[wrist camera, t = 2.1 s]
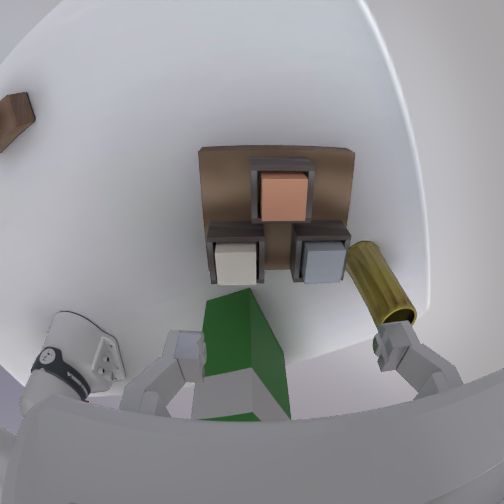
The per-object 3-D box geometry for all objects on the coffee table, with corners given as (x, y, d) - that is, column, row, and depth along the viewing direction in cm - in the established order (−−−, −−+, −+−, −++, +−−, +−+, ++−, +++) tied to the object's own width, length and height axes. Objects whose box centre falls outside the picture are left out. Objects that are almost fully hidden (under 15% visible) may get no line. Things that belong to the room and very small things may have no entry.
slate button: (333, 267, 35) (340, 282, 33) (300, 268, 35) (304, 283, 33) (338, 236, 33) (346, 250, 30) (302, 237, 33) (307, 251, 30)
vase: (349, 280, 43) (379, 347, 31) (338, 251, 41) (370, 319, 28) (382, 264, 42) (421, 326, 30) (374, 234, 39) (418, 295, 27)
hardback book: (283, 352, 52) (296, 469, 32) (247, 362, 54) (249, 475, 33) (249, 287, 44) (253, 436, 23) (206, 301, 45) (188, 442, 24)
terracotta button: (299, 208, 31) (305, 220, 28) (260, 208, 31) (262, 221, 28) (302, 170, 29) (308, 179, 26) (260, 170, 29) (262, 179, 26)
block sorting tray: (333, 256, 41) (347, 285, 35) (211, 258, 41) (205, 289, 35) (346, 148, 33) (368, 161, 27) (202, 147, 32) (191, 159, 27)
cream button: (255, 269, 35) (256, 285, 33) (219, 269, 35) (217, 285, 33) (255, 237, 33) (256, 252, 30) (217, 238, 33) (214, 253, 30)
